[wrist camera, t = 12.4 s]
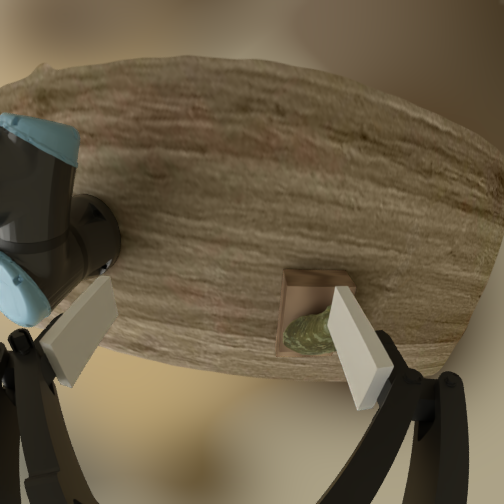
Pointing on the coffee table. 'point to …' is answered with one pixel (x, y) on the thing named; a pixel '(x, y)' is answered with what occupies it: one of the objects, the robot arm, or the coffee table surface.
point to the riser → (306, 299)
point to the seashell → (310, 334)
